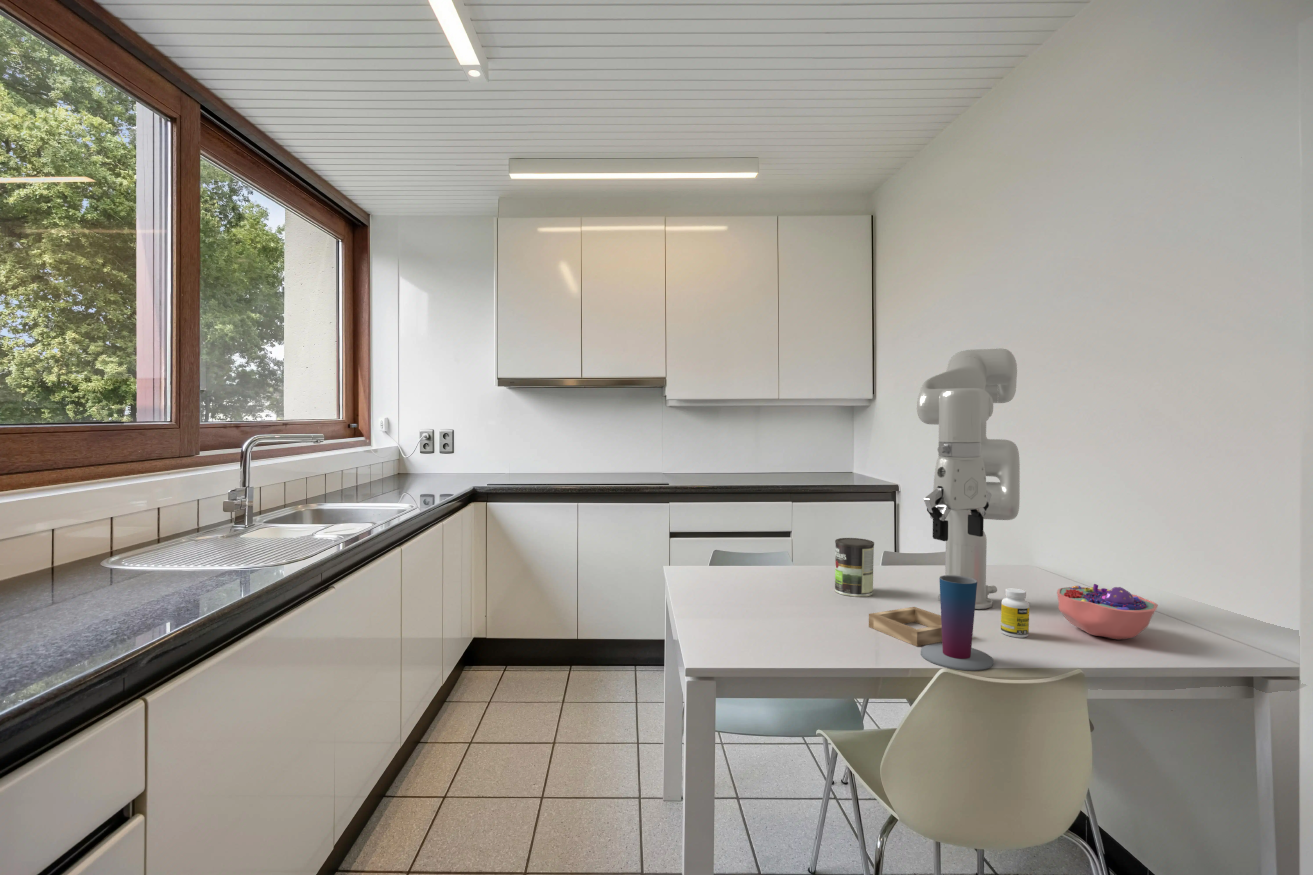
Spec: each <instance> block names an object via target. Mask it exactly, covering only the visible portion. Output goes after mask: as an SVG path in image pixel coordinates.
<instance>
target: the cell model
mask: <svg viewBox="0 0 1313 875" xmlns="http://www.w3.org/2000/svg"><path fill="white" fill-rule="evenodd" d="M1056 594H1057V601H1058V606H1057V608H1058V611H1059V612H1060V613H1061V614H1062V616H1064V618H1065V619H1066V621H1067V622H1069V623H1070V624H1071V625H1073V626H1074V627H1076V628H1078V629H1079V630H1082V631H1083V632H1085V633H1087V634H1089V635H1092V636H1095V637H1104V638H1107V639H1110V640H1112V639H1113V640H1120V641H1121V640H1127V639H1133V638H1135V637H1136V636H1138V635H1139V634H1140V633H1142V632H1143V631H1144V630H1146V629H1147V628H1148V626H1149V625H1150V624H1151V622H1152V619H1153V617H1154V616H1153V615H1154V614H1155V612H1156V610H1157V608H1158V607H1159V604H1158V603H1156V602H1154V601H1152V600H1149V599H1146V598H1144V597H1143V596H1139V595H1137V594H1132V593H1131V592H1130V591H1128V590H1126V589H1125V588H1123V587H1121V586H1115V587H1111V589H1108V588H1105V587H1103V588H1099V584H1096V583H1094V584H1093V586H1091V587H1085V586H1084V587H1082V586H1081V585H1074V586H1071V587H1070V586H1069V587H1067V586H1066V587H1060V588H1058V589H1057V591H1056Z"/></svg>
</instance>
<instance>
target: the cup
mask: <svg viewBox="0 0 1313 875" xmlns="http://www.w3.org/2000/svg"><path fill="white" fill-rule="evenodd" d="M976 591H977V580H975V579H973V578H969V577H964V576H956V575H945V574H944V575H941V576H939V594H940V601H939V602H940V615H941V625H942V643H941V644H942V647H943V654H945V655H946V656H949V657H952V658H957V659H967V658H970V656H971V648H972V646H973V634H974V622H975V611H976V609H975V602H976Z"/></svg>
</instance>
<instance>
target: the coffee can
mask: <svg viewBox="0 0 1313 875" xmlns="http://www.w3.org/2000/svg"><path fill="white" fill-rule="evenodd" d="M834 543H835V560H834V561H835V563H834V564H835V565H834V567H835V568H834V569H835V570H834V572H835V573H834V591H835V593H837V594H839V595H843V596H846V597H855V598H866V597H870V596H872V595H873V596H874V558H875V557H874V556H875V555H874V554H875V552H874V551H875V550H874V548H875V542H874V540H870V539H866V538H859V537H858V538H857V537H841V538H836V539H835V540H834Z"/></svg>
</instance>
